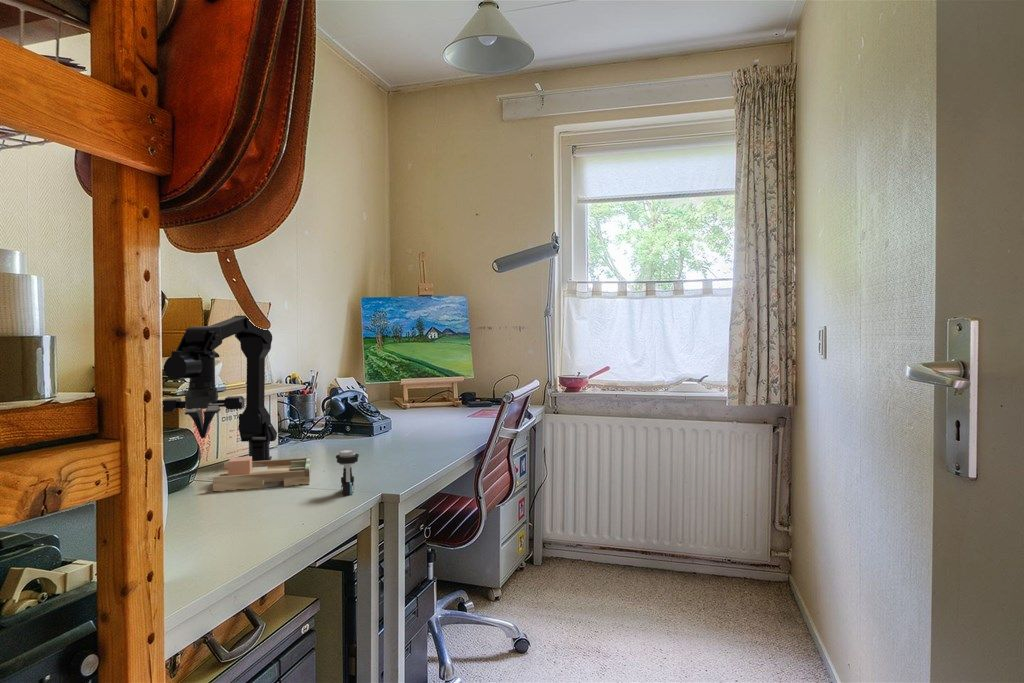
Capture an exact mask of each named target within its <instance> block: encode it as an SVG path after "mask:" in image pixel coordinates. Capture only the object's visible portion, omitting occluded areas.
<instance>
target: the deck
mask: <svg viewBox="0 0 1024 683" xmlns="http://www.w3.org/2000/svg"><path fill="white" fill-rule="evenodd" d="M253 468H266V469H257V470H256V469H255V470H252V473H251V474H244V475H230V476H228V462H225V463H223V470H222V471H221V473H219V475H218V476H213V477H212V487H213V488H212V491H220V492H226V491H225V490H233V491H237V490H236V489H245V490H250V489H249V488H258V489H264V488H263V487H270V488H278V487H277V486H283V487H289V486H288V485H295V486H300V485H299V484H308V483H309V482H311V481H310V480H311V474H310V473H312V455H307V456H306V457H296V458H295V457H293V458H282V459H271V460H264V461H252V469H253ZM309 484H310V483H309ZM309 484H308V485H309Z"/></svg>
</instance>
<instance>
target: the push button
mask: <svg viewBox="0 0 1024 683" xmlns="http://www.w3.org/2000/svg"><path fill="white" fill-rule="evenodd" d="M359 456H360V454H358V453H356V450H354V449H344V450H340V451H339V453H338V454H337V455H335V459H336V463H338V464H339V465H341V466H343V467H342V468H343V470H342V471H343V472H342V477H340V483H341V485H340V493H341V494H342V495H343V496H350V495H349V494H351V495H353V488H355V485H354V483H355V476H353V472H352V471H353V470H352V465H354V464H356V463H358V461H359Z"/></svg>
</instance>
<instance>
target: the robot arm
mask: <svg viewBox="0 0 1024 683" xmlns="http://www.w3.org/2000/svg"><path fill="white" fill-rule="evenodd" d="M246 316H247V315H234V316H232V317H231V318H227V319H225V320H222V321H220V322H217V323H214V324H211V325H202V326H200V325H199V326H188V328H186V329H185V332H184V334H183V336H182V338H181V339H180V342H179V344H178V345H177V347H176V350H173V351H171V356H170V357H168V358H167V359H166V360H165V362H164V365H163V372H164V374H165V376H166V377H167V378H168V379H170V380H174V381H176V380H177V381H178V380H183V379H189V382H188V388H187V391H186V393H185V395H184V400H182V399H181V397H173V398H172V397H171V398H164V399H162V400H163V405H164V412H163V413H172V412H174V411H175V410H178V409H184V410H185V412H184V415H188V416H189V417H190V418H191V419H192V421H193V422H194V424H195V426H196V429H197V432H198V434H199V436H200V438H201V439H205V438H206V437H207V435H208V431H209V428H210V426H211V422H212V421H213V419H214V416H215V415H216V414H218V413H219V412H221V407H223V408H226V409H227V410H241V409H243V408H244V407H245V409H244V410H243V411H242V413H239V415H238V433H239V437H240V441H241V443H244V442H247V443H248V456H252V461H264V460H273V459H272V458H273V457H272V456H271V455H270V443H271V442H275V441H276V440H277V437H278V436H277V435H278V432H277V429H275V427H274V426H273V423H271V422H272V421H271V415H270V413H269V412H268V409H267V408H266V406H265V397H266V396H265V392H266V391H265V385H266V384H265V381H266V380H265V377H266V374H265V371H266V369H265V368H266V367H265V366H266V357H267V355H268V354H269V353H270V351H271V349H272V342H273V334H272V333H271V331H270V330H269V329H268V328H267V330H263V329H260V328H258V327H256V326H254V325H253V324H252V323H251V322H250V321H249V319H248V318H247V317H246ZM232 336H234V337H235V338H236V339H237V341H238V342H239V343H240V350H241V352H242V353H243V355H244V356H245V358H246V390H245V391H246V397H245V398H246V401H245V398H244V396H243V395H231V396H230V395H229V396H226V397H225V398H224V399H219V392H218V388H217V387H216V359H217V358H220V354H219V353H218V352H217V351H215V350H216V349H217V348H219V347H220V346H221V345H222V344H223V341H224V340H225V339H228V338H230V337H232ZM245 404H246V406H245ZM204 409H206V410H205V411H203V410H204Z"/></svg>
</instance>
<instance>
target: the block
mask: <svg viewBox="0 0 1024 683" xmlns="http://www.w3.org/2000/svg"><path fill="white" fill-rule="evenodd" d="M227 463H228V476H230V475H244V474H251V473H252V471H253V468H252V456H249V455H248V456H236V457H235V456H233V457H232V456H231V457H230V458H229V460H228V461H227Z"/></svg>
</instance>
